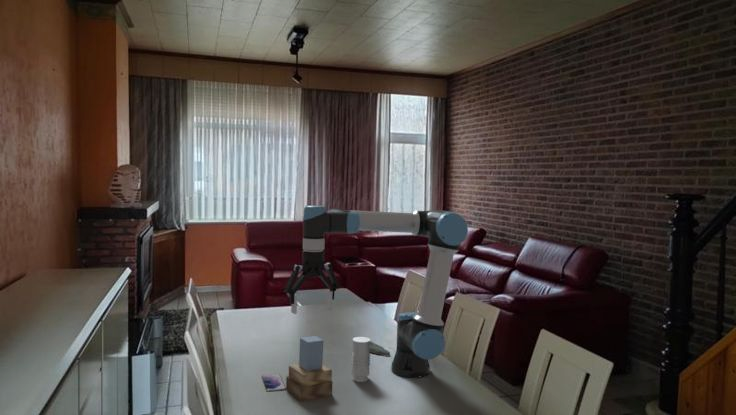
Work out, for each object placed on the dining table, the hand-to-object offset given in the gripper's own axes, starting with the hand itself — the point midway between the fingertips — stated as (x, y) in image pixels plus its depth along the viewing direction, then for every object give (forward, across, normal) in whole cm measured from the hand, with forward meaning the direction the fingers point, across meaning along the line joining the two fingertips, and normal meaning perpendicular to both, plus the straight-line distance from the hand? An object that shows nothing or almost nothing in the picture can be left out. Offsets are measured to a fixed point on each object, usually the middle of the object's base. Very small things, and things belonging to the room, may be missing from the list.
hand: (311, 311), depth 184 cm
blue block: (+20, 0, 0) cm, 20 cm away
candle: (+29, -22, -2) cm, 36 cm away
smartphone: (+29, +8, -13) cm, 33 cm away
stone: (+29, -44, -27) cm, 59 cm away
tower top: (+24, 0, 0) cm, 24 cm away
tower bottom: (+29, 0, 0) cm, 29 cm away
